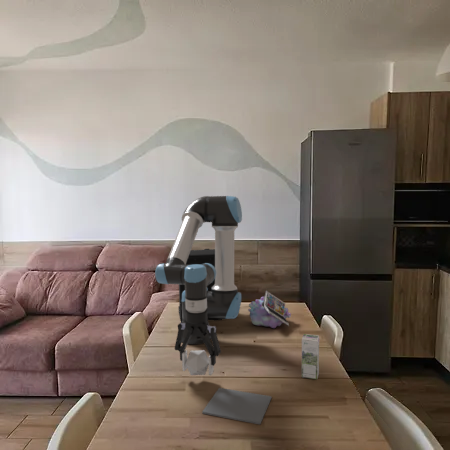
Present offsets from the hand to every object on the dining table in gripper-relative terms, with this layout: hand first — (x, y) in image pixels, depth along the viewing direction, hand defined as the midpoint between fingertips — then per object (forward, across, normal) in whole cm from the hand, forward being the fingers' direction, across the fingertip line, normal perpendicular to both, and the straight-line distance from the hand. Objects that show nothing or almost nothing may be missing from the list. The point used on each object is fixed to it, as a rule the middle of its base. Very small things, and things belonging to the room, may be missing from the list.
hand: (198, 371), depth 137 cm
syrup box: (+4, +37, +16) cm, 41 cm away
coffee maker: (+5, -25, +68) cm, 73 cm away
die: (+1, 0, 0) cm, 1 cm away
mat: (+3, +18, -11) cm, 21 cm away
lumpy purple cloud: (+5, +11, +65) cm, 67 cm away
